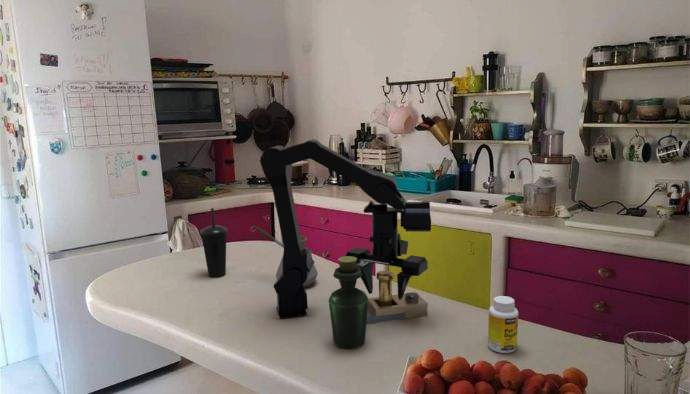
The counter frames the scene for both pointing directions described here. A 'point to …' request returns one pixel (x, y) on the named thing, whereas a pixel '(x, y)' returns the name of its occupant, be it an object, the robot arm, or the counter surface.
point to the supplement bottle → (503, 325)
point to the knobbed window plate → (397, 308)
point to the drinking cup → (215, 248)
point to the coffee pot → (312, 274)
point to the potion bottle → (348, 306)
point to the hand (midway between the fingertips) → (385, 296)
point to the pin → (385, 288)
